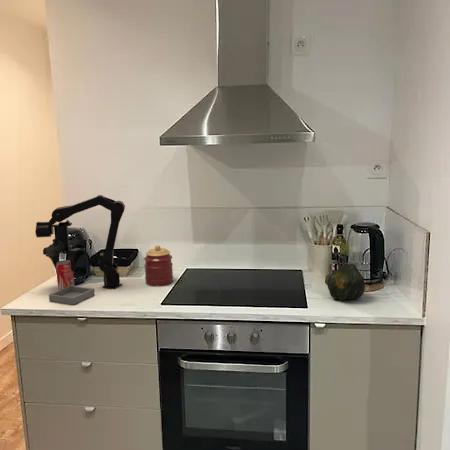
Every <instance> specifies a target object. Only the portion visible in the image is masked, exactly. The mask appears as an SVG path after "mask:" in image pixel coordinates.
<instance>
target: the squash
mask: <svg viewBox="0 0 450 450" xmlns="http://www.w3.org/2000/svg"><path fill="white" fill-rule="evenodd" d="M365 287H366V283H365V280H364V277H363V275H362V274H361V272H360V271H359V269H358V268H357V266H356V265H355V263H348V264H345V265H342V266H341V267H339V268H338V269H336V270H333V271H332V272H331V273H330V274H329V276H328V278H327V289H328V292H329V295H330V296H331V298H333V299H334V300H339V301H345V300H354V299H359V298H361V297H362V296H363V295H364V293H365Z"/></svg>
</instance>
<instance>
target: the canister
mask: <svg viewBox="0 0 450 450" xmlns="http://www.w3.org/2000/svg"><path fill="white" fill-rule="evenodd" d="M145 255H146V256H145V257H143V260H144V263H145V264H144V273H145V277H144V279H145V283H146V285H148V286H153V287H160V286H161V287H163V286H167V285H171V284H172V283H173V282H174V273H173V271H174V270H173V262H172V259H173V255H171V251H170V250H168V249H167V248H164V247H163V248H162V247H161V246H160V245H159V244H156V245H155V246H154V248H151V249H148V251H146V252H145Z"/></svg>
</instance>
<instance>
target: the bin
mask: <svg viewBox="0 0 450 450" xmlns="http://www.w3.org/2000/svg"><path fill="white" fill-rule="evenodd" d="M94 296H95V289H94V288H90V287H84V286H78V285H77V286H76V285H75V286H69V287H66V288H64V289H61V290H59V289H58V290H57V291H55V292H52V293H49V294H48V301H49V303H57V304H62V305H67V306H69V305H70V306H75V305H78V304H80V303H82V302H83V301H86V300H88V299H90V298H92V297H94Z"/></svg>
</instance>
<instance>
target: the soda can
mask: <svg viewBox="0 0 450 450" xmlns="http://www.w3.org/2000/svg"><path fill="white" fill-rule="evenodd" d="M55 271H56V272H55V273H56V281H57V289H58V291H59V290H61V289H64V288H66V287H69V286H76V285H75V277H74V276H75V275H74V271H72V270H71V263H70V260H69V259H64V260H59V261H58V262H57V265H56V268H55Z"/></svg>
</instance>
